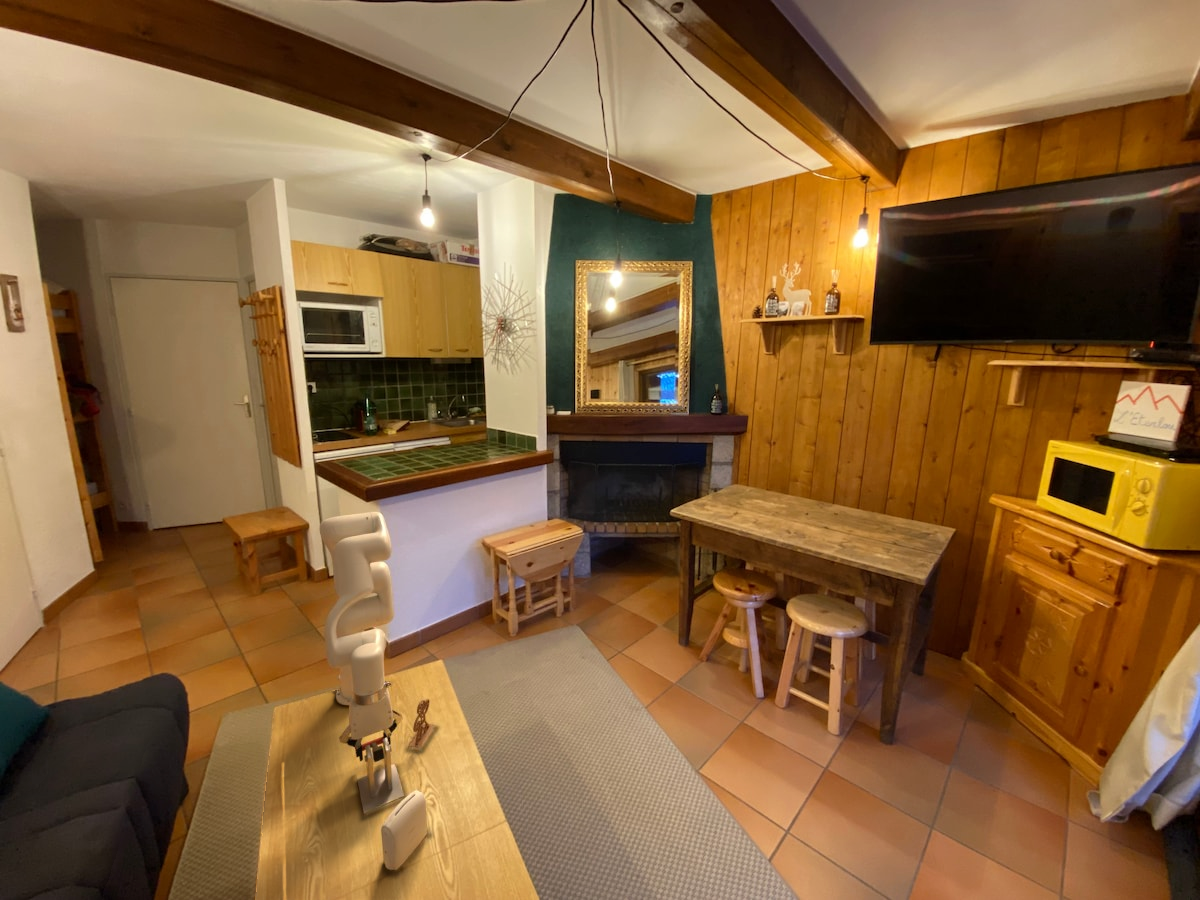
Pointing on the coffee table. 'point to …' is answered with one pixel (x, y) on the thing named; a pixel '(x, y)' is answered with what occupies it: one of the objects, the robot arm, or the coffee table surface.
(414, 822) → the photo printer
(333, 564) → the robot arm
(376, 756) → the lever
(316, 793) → the coffee table surface
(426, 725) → the brown filigree ornament
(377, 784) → the bracket
